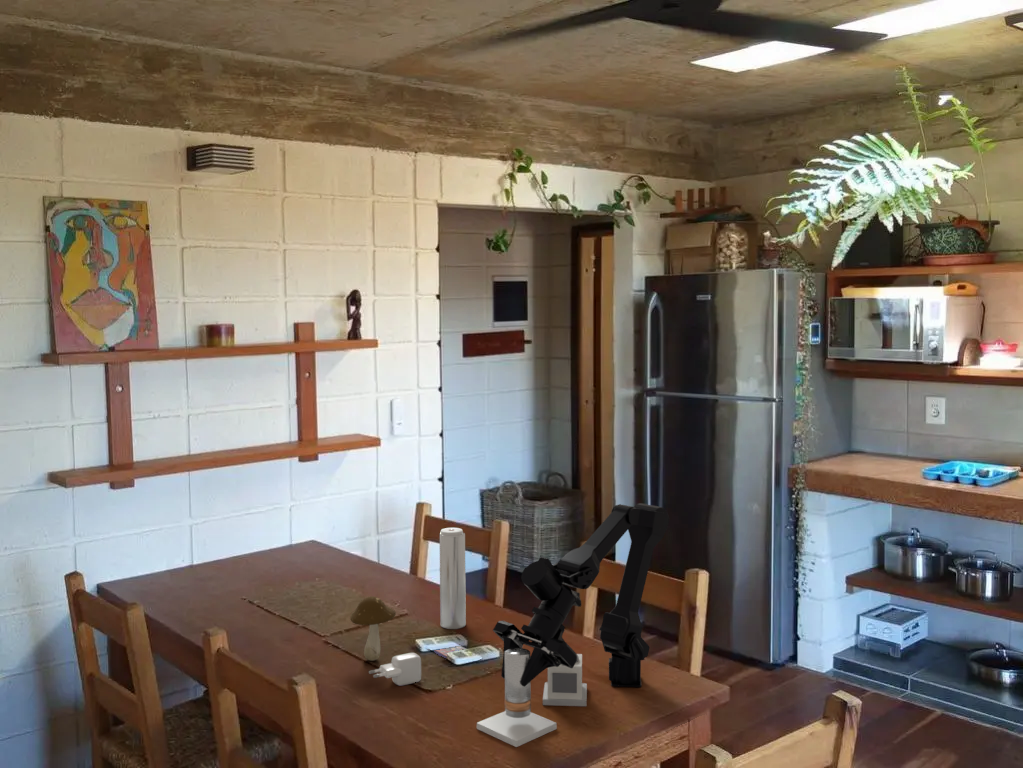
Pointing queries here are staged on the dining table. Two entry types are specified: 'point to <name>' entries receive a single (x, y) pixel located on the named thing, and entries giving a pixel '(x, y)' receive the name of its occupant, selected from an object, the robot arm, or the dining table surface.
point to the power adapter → (401, 669)
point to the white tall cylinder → (452, 578)
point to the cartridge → (517, 683)
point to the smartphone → (448, 650)
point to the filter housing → (565, 686)
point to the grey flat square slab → (516, 728)
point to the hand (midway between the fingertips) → (512, 681)
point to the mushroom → (372, 622)
